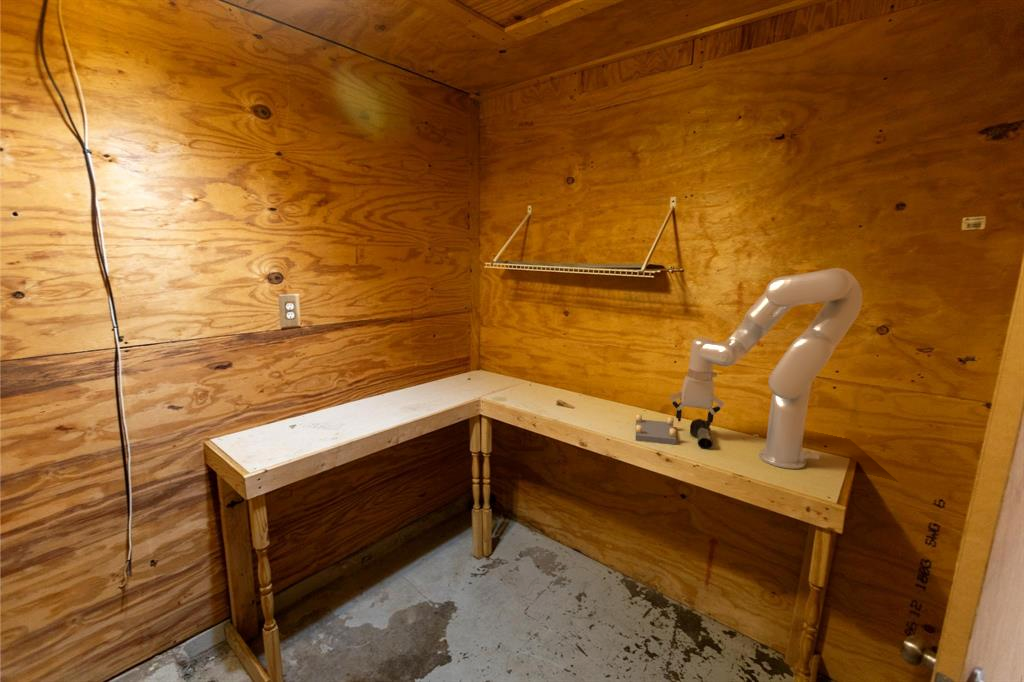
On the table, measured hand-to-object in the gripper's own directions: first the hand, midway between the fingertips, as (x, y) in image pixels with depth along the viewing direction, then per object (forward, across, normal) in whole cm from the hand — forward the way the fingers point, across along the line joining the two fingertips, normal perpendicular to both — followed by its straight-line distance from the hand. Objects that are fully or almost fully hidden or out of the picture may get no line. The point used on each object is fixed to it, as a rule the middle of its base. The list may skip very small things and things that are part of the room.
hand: (693, 422), depth 158 cm
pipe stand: (+6, +12, 0) cm, 14 cm away
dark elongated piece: (+6, -3, +1) cm, 7 cm away
